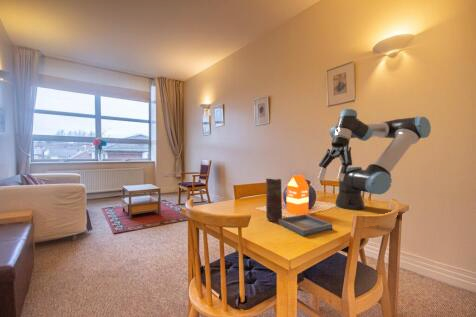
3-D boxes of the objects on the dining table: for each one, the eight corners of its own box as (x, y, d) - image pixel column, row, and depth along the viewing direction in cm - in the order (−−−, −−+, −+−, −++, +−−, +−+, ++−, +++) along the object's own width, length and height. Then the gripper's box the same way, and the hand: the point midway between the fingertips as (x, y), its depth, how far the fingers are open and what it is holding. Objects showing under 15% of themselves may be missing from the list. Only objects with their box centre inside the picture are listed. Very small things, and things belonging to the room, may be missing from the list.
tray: (305, 219, 109) (305, 213, 108) (332, 229, 94) (332, 224, 94) (278, 224, 101) (278, 218, 101) (303, 236, 87) (303, 230, 87)
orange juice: (308, 212, 119) (309, 175, 118) (298, 216, 113) (298, 176, 112) (296, 209, 125) (296, 173, 124) (286, 212, 120) (286, 175, 119)
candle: (262, 219, 108) (263, 178, 107) (272, 216, 113) (273, 176, 112) (275, 223, 102) (275, 179, 101) (285, 220, 107) (285, 178, 106)
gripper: (319, 140, 120) (307, 177, 116) (355, 130, 96) (342, 176, 92) (330, 146, 122) (319, 182, 118) (368, 137, 98) (356, 183, 94)
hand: (329, 180), depth 105 cm, fingers open, 13 cm apart
